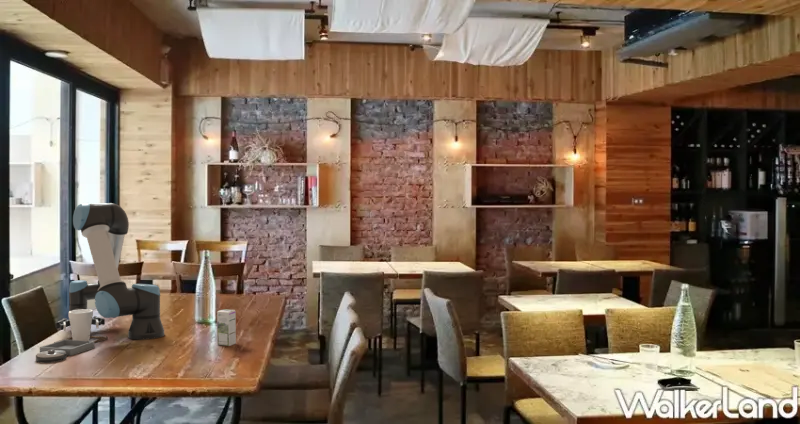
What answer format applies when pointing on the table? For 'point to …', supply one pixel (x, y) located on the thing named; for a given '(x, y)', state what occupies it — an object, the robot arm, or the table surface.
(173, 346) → the table surface
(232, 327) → the syrup box
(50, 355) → the metal pot lid
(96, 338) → the square wooden frame
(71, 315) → the foam cup
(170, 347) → the table surface
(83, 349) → the tray
